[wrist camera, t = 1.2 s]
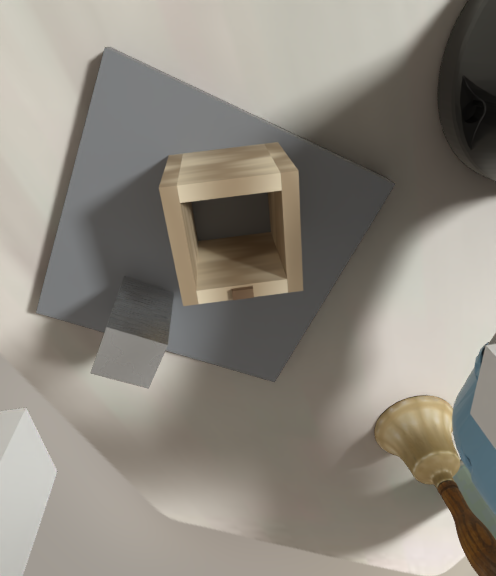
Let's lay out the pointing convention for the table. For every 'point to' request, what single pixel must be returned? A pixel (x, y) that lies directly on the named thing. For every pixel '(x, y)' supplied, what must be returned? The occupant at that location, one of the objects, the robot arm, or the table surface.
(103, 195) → the base board
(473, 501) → the disposable coffee cup
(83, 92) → the table surface
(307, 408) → the table surface
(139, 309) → the steel block
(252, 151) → the hollow wooden cube frame
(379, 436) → the hand bell
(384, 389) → the table surface
